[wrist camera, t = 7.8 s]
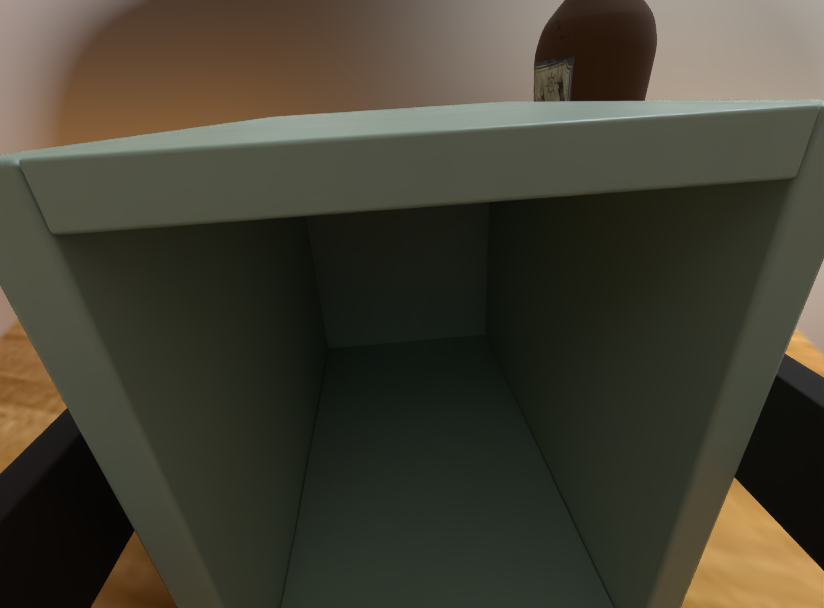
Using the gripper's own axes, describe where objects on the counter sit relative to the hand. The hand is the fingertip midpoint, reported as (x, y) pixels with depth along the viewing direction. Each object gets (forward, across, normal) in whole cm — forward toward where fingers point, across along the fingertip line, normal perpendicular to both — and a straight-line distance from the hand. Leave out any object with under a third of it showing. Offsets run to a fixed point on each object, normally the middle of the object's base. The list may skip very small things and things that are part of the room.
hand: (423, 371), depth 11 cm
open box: (+3, 0, 0) cm, 3 cm away
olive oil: (+35, +20, -6) cm, 41 cm away
